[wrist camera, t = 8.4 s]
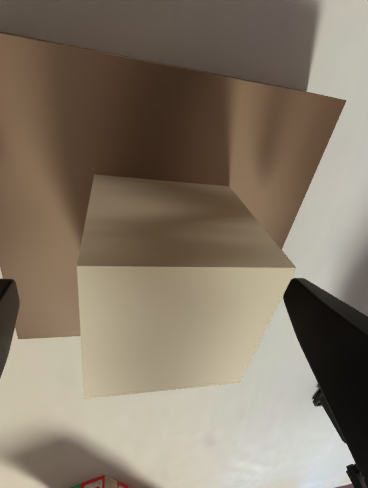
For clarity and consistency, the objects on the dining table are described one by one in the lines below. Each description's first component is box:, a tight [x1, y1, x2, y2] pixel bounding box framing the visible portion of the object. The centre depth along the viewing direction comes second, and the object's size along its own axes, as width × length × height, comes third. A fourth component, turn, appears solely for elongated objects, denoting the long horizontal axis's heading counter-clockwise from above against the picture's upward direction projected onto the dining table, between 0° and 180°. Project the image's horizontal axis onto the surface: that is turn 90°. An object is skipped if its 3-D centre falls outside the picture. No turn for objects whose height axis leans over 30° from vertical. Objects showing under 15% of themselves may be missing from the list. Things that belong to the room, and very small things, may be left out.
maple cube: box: [77, 174, 296, 399], centre depth 9 cm, size 5×5×5 cm
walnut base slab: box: [0, 32, 346, 339], centre depth 12 cm, size 12×12×2 cm
